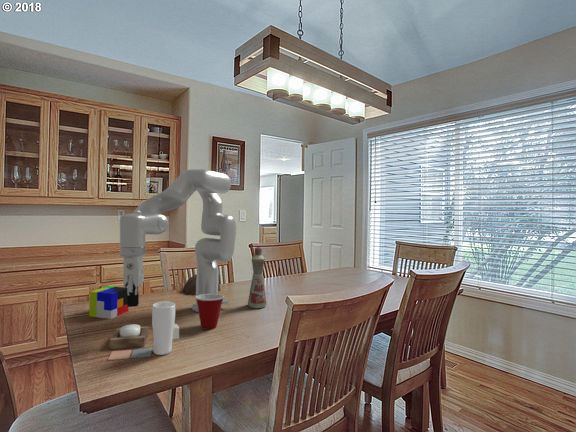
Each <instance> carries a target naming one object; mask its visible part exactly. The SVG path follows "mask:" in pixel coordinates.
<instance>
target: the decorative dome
mask: <svg viewBox="0 0 576 432" xmlns="http://www.w3.org/2000/svg"><path fill="white" fill-rule="evenodd" d="M196 277H197V273H196V274H194V275H192V276H191V277H190V278H188V279H187V280H186V282H185V284H184V286H183V287H182V292H184V291H185V292H184V295H191V294H192V295H191V296H193V295H196ZM219 292H221V285H220V283H219V282H218V293H219Z"/></svg>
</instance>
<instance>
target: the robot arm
mask: <svg viewBox="0 0 576 432" xmlns="http://www.w3.org/2000/svg"><path fill="white" fill-rule="evenodd" d="M231 188H232V181H231V178H230V177H229V175H228V174H225V173H223V172H219V171H214V170H210V169H206V168H205V169H202V168H201V169H199V168H198V169H193V168H192V169H186V170H183V172H181V173H180V174H179V175H178V176H177V177H176V178H175V180H174V181H172V183H170V184H169V186H168V187H167V188H166V189H165V190H163V191H161V192H159V193H157V194H155V195H153V196H151V197H149V198H148V199H145V201H143V202H142V203H140V204H139V205H138V206H137V207H136V208H135V209H134V210H133V211H132V212H131V213H125V214H122V215H120V218H119V256H120V258H123V265H122V267H123V269H122V273H123V274H122V280H123V281H122V282H123V284H122V285H123V287H124V288H127V292H128V295H127V306H128V308H132V307H133V308H134V307H135V308H136V307H138V306H139V304H140V303H139V299H140V298H139V297H140V296H139V295H140V294H139V293H140V292H139V288H140V287H141V286H142V285H143V283H144V282H145V278H144V277H145V274H144V257H145V256H146V235H161V234H164V233H165V232H166V231H167V230H168V228H169V226H170V225H169V224H170V222H169V220H168V218H167V216H166V215H164V214H162V213H165V212H168V211H173V210H175V209H178V208H181V207H183V206H184V205H185V204H186V202H187V201H188V200H189V199H190V198H191V197H192V196H193V194H194V193H195V192H198V194H199V195H200V197H201V200H202V214H201V215H202V216H201V223H200V226H201V227H200V228H201V232H202V233H203V234H205V235H208V236H217V237H218V236H219V238H213V237H203V238H200V239H198V240H197V242H195V246H194V254H195V260H196V274H197V277H196V296H198V295H202V294H218V293H219V292H218V283H219V273H220V272H219V266H218V263H217V261H218V262H229V261H230V260H231V259H232V258H233V256H234V253H235V244H236V235H237V222H236V220H235V219H236V218H234V217H233V216H232V215H230V214H223V200H222V198H221V196H220V195H219V194H226V193H228V192H229V191H230V190H231ZM196 296H195V297H196ZM221 305H229V299H225V298H223V301H222V304H221ZM191 310H192V311H193V312H196V313H199V310H198V304H197V300H196V299H195V303H194V304H192V306H191Z"/></svg>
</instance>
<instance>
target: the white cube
mask: <svg viewBox="0 0 576 432" xmlns="http://www.w3.org/2000/svg"><path fill="white" fill-rule="evenodd" d="M179 339H180V327H179V325H178V323H174V331H173V339H172V341H173V340H179Z"/></svg>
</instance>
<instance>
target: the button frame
mask: <svg viewBox="0 0 576 432" xmlns="http://www.w3.org/2000/svg"><path fill="white" fill-rule="evenodd" d="M120 328H121V327H118V328H116V329H115V331H114V332H113V334H112V336H110V339H109V350H119V349H121V350H122V349H133V348H144V347H145V345H146V343H147V339H148V336H149V325H146V326H145V325H144V326H140V336H134V337H120Z"/></svg>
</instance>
